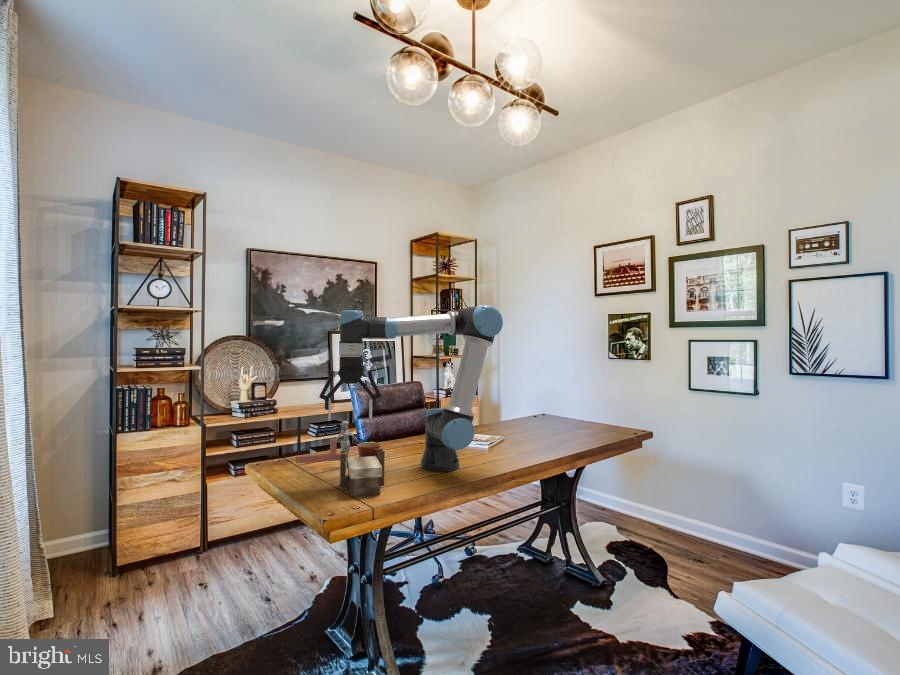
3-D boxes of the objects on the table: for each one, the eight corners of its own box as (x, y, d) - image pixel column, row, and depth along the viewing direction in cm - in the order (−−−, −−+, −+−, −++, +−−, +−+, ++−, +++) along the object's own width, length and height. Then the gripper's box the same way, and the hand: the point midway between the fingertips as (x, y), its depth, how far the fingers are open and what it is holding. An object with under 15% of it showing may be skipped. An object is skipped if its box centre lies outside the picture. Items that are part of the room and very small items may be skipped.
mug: (352, 471, 176) (352, 444, 176) (370, 467, 182) (370, 441, 182) (372, 478, 168) (372, 449, 168) (390, 473, 174) (391, 445, 174)
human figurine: (333, 471, 177) (334, 423, 177) (328, 469, 179) (329, 422, 179) (360, 465, 185) (361, 420, 185) (355, 463, 188) (356, 418, 188)
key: (345, 458, 159) (345, 438, 159) (345, 460, 157) (345, 439, 157) (295, 461, 155) (296, 440, 155) (295, 463, 153) (295, 441, 153)
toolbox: (382, 481, 164) (382, 448, 164) (388, 494, 151) (389, 458, 151) (339, 484, 160) (340, 451, 160) (342, 498, 147) (343, 461, 147)
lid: (375, 464, 164) (375, 456, 164) (382, 476, 150) (382, 467, 150) (346, 466, 161) (346, 457, 161) (350, 479, 147) (350, 469, 147)
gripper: (312, 356, 151) (311, 422, 150) (389, 356, 157) (388, 419, 157) (312, 355, 158) (312, 418, 158) (386, 355, 164) (385, 415, 164)
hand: (350, 419), depth 157 cm, fingers open, 13 cm apart
